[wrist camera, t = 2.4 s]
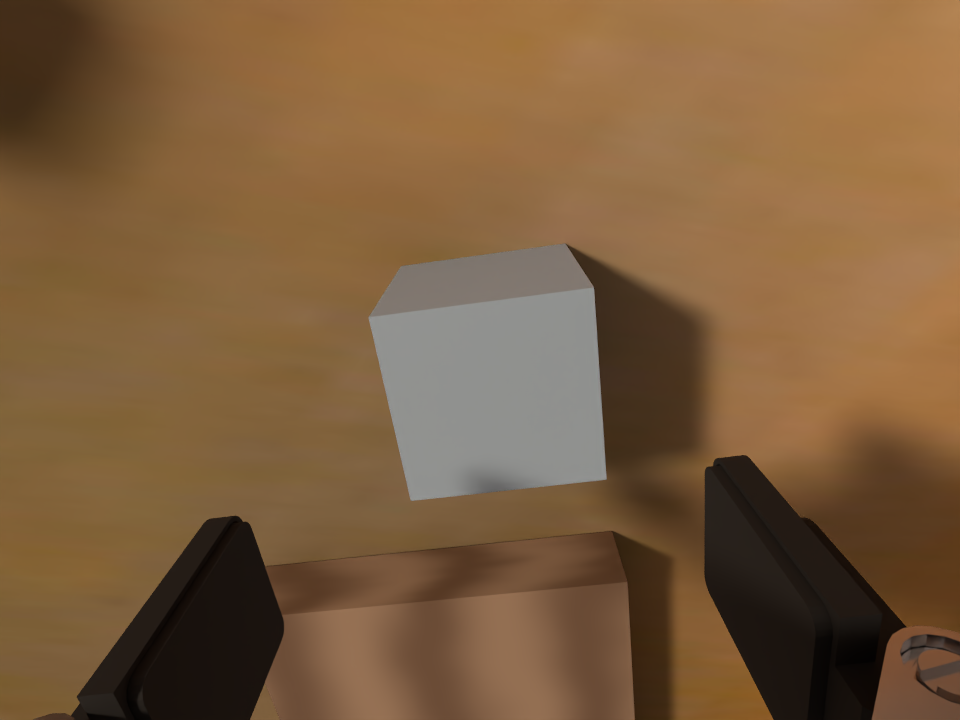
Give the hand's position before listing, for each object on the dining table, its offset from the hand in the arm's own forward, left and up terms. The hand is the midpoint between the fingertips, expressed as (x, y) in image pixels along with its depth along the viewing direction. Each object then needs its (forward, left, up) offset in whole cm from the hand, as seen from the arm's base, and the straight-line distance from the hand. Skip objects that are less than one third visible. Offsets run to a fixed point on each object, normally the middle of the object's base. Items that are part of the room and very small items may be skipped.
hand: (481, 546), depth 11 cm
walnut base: (+4, +17, -11) cm, 21 cm away
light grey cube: (0, -1, -11) cm, 11 cm away
